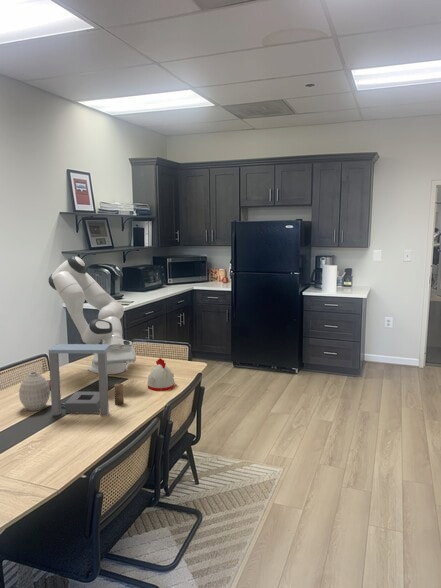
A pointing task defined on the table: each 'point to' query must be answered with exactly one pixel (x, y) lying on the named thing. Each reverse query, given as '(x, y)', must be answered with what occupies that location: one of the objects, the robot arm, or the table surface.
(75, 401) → the socket station
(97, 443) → the table surface
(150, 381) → the kitchen timer
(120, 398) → the peg
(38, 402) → the vase
